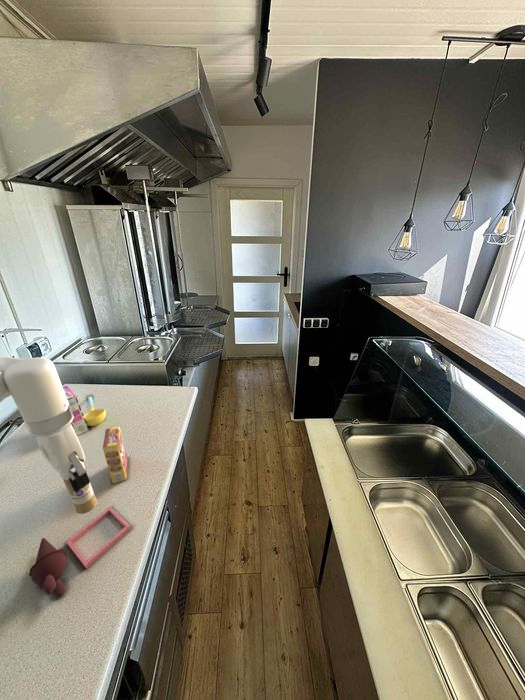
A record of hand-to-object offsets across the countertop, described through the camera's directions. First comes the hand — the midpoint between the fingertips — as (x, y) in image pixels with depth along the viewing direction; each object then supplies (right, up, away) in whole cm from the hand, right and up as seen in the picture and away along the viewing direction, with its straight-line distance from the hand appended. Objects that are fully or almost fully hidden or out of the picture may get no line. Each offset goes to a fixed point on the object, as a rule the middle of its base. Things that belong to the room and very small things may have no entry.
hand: (76, 480), depth 65 cm
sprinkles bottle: (0, -8, +4) cm, 9 cm away
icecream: (-7, -23, +2) cm, 24 cm away
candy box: (-4, -10, +28) cm, 30 cm away
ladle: (-29, +3, +56) cm, 64 cm away
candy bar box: (-30, -1, +48) cm, 57 cm away
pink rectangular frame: (0, -19, +9) cm, 22 cm away
